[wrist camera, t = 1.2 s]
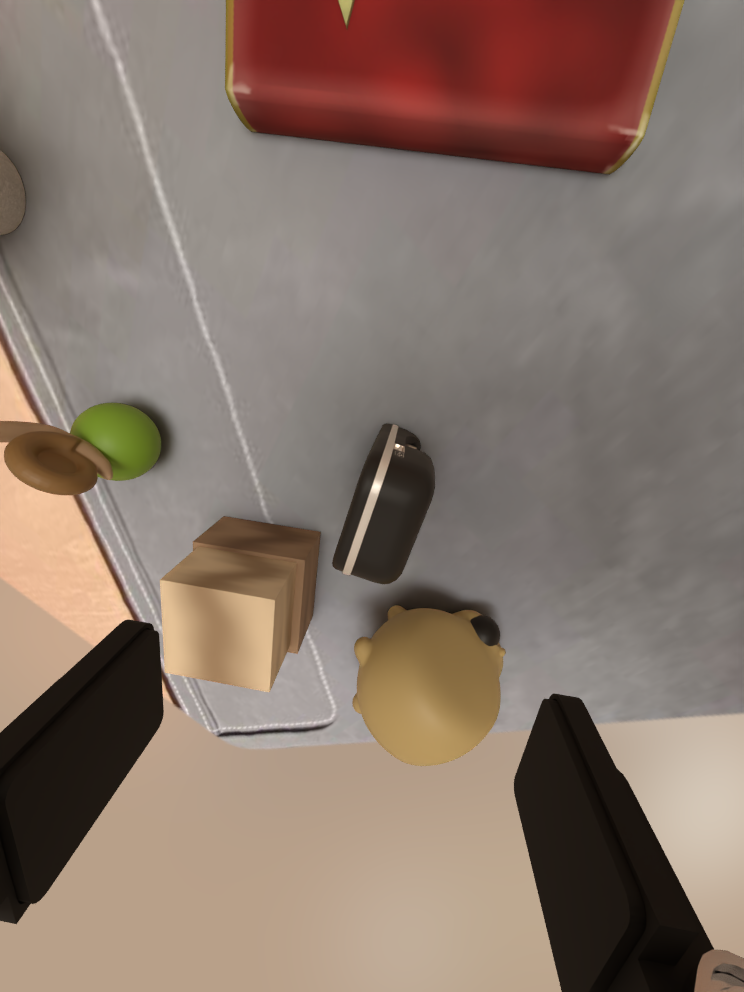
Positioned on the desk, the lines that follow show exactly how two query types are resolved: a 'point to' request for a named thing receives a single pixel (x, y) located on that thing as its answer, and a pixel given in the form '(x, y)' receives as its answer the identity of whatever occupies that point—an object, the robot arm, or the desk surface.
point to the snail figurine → (82, 449)
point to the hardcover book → (454, 75)
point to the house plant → (10, 196)
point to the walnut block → (278, 546)
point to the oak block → (227, 617)
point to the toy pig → (430, 683)
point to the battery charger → (386, 508)
